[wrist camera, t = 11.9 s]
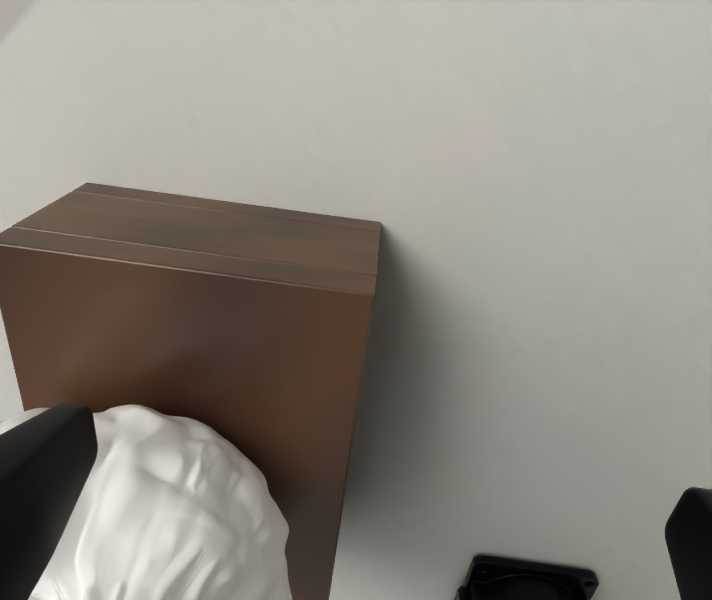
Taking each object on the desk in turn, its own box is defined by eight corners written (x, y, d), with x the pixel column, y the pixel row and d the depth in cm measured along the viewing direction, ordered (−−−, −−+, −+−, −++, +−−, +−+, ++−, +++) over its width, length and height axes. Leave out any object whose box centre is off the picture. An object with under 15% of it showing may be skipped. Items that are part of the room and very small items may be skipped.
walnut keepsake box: (381, 222, 20) (375, 294, 15) (340, 502, 27) (326, 613, 22) (86, 182, 20) (-18, 241, 15) (123, 472, 27) (61, 576, 22)
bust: (320, 508, 23) (497, 706, 12) (188, 672, 21) (266, 1071, 10) (87, 309, 19) (58, 356, 8) (-104, 489, 17) (-446, 837, 6)
